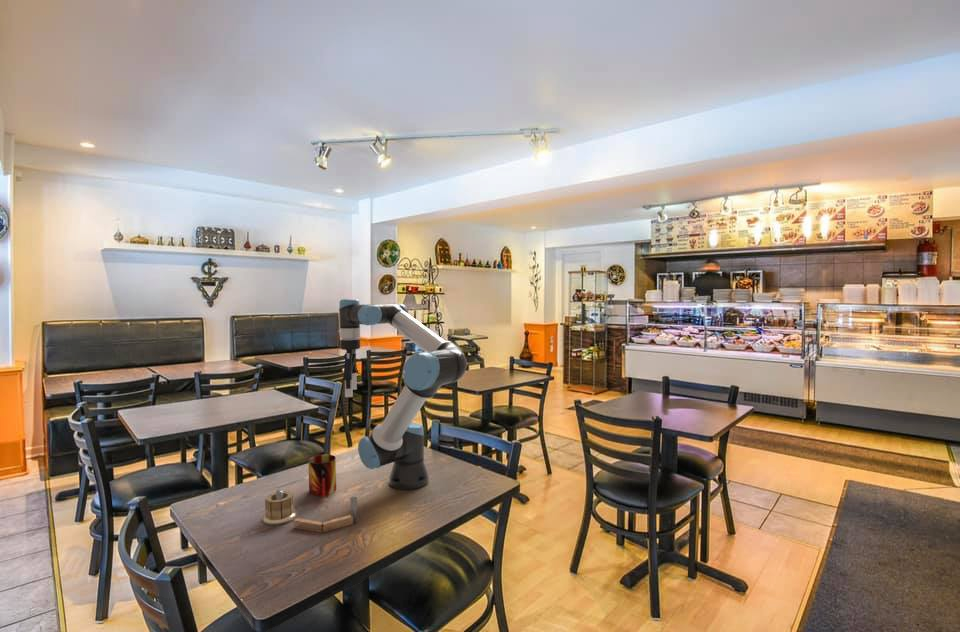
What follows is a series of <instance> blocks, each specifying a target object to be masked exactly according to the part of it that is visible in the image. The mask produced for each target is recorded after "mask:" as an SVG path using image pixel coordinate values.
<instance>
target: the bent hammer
mask: <svg viewBox="0 0 960 632" xmlns="http://www.w3.org/2000/svg"><path fill="white" fill-rule="evenodd" d="M349 500H350V504H349V505H350V514H349V515H344V516H342V517H338V518H337V517H336V518H335V519H329V520H326V521H317V520H311V519H306V518H305V519H304V518H300V517H295V519H293V529H297V530H298V529H299V530H304V531H311V532H316V533H326V532H328V531H333V530H335V529H340V528H343V527H344V528H345V527H347V526H351V525H355V524H357V523H358V498H357V496H351V497H350V499H349Z"/></svg>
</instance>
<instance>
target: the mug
mask: <svg viewBox="0 0 960 632" xmlns="http://www.w3.org/2000/svg"><path fill="white" fill-rule="evenodd" d="M336 461H337V460H336V456H335V455H333V454H320V455H314V456H311V457H310V458H309V459H308V490H309V491H308V492H309V495H311V496H314V497H322V499H326V496H328V495H331V494H333V493H335V492H336V490H337V462H336Z"/></svg>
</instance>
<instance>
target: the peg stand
mask: <svg viewBox="0 0 960 632" xmlns="http://www.w3.org/2000/svg"><path fill="white" fill-rule="evenodd" d="M283 491H284V490H282V489H277V490H276V491H275V492H276V500H281V499H283ZM293 510H294V511H293V513H292V515H290V516H289V517H287V518H285V519H281V520H269V519H267V518H266V513H264V515H263V518H262V520H263V524H265V525H268V526H281V525H285V524H288V523H290V522H292V521H294V520H295V519H296V518H297V510H296V508H294V507H293Z"/></svg>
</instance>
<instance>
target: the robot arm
mask: <svg viewBox="0 0 960 632" xmlns="http://www.w3.org/2000/svg"><path fill="white" fill-rule="evenodd" d="M338 314H339V315H338V316H339V330H338V331H337V333H338V334H339V338H340V340H339V347H340V350H342V351H345V350H346V352H345V353H344V370H343V377H342V381H344V398H353V397H354V395H353V390H354V391H355V390H357V389H358V386H357V382H358V381H357V377H358V376H357V374H358V373H359V370H358V367H357V365H358V364H357V353H356V351H357V350H358V349H361V340H360V338H361V327H360V326H361V325H364V326H375V325H380V324H381V325H382V324H389V325H391V326H392V327H394V329H395V330H397V331H399V333H400V334H402V335H403V336H404V337H406V338H407V339H408V340H409V341H411V342H412V343H413V344H414V345H416V346H417V347H418V348H419V349H421V351H420V352H418V353H417V352H416V353H414V354H412V355H410V356H409V357H408V358H407V359H406V361H405V363H404V366H403V371H404V372H403V373H402V375H403V377H402V378H403V382H404V387H403V388H402V390H401V392H400V394H399V395H398V397H397V398H396V400H395V401H394V403H393V405H392V406H391V408H390V409H389V411H388V413H387V414H386V416H385V418H384V419H383V421H382V422H381V423H380V424H377V425H376V426H375V427H373V429H372V431H371V433H370V434H369V435H367V436H366V435H365V436H363V437H362V438H360V439H359V441H358V445H357V450H358V456H359V458H360V461H361V463H362V465H364V466H365V467H366V468H367V469H369V470H375V469H379V468H381V467H383V466H386V465H389V464H392V463H393V465H392V468H391V472H390V475H389V480H388V481H389V486H390V487H392V488H394V489H397V490H406V491H407V490H417V489H420V488H422V487H425V486H426V485H427V484H428V483H429V480H430V479H429V478H430V477H429V471H428V470H427V466H426V463H425V457H424V456H425V455H424V454H425V448H424V447H425V444H424V443H425V439H424V438H425V434H424V426H423V425H422V424H420V423H418V422H413V421H414V419H415V418H416V416H417V415H418V413H419V412H420V410H421V408H422V407H423V405H424V404H425V403H426V400H427V399H432V398H434V396H435V395H436V394H437V392H438V391H439V389H440V388H441V387H442V386H444V385H448V384H453V383H455V382H458V381H460V379H462V378H463V377H464V375H465V373H466V372H467V367H468V363H467V362H468V361H467V358H466V356H465V353H464V351H462V349H461V348H460V347H459V346H457V345H456V344H455V343H453V342H452V341H450V340H445V339H443V338H442V337H441V336H439V335H438V334H436V332H434V331H432V330H431V329H430V328H428V327H427V326H425V325H424V324H422V322H421V321H419V320H418V319H416V318H415V317H413V316H412V315H411V314H409V310H408V308H407V306H406V305H405V304H404V303H403V304H402V303H398V302H397V303H396V302H395V303H381V304H379V303H378V304H377V303H375V304H361V303H360V300H359V299H358V298H357V299H356V298H348V299H347V298H345V299H344V298H343V299H340V300H339V308H338Z"/></svg>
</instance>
